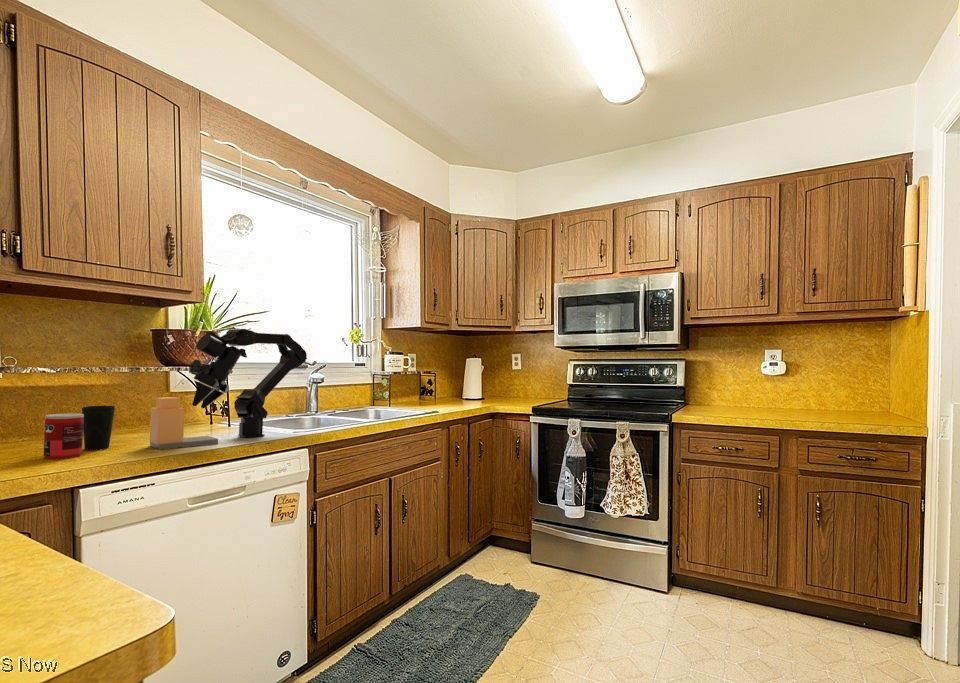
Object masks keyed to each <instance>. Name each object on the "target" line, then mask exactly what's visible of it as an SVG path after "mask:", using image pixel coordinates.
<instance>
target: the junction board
mask: <svg viewBox="0 0 960 683" xmlns="http://www.w3.org/2000/svg"><path fill="white" fill-rule="evenodd" d="M218 444H219V439H218V437H213V436H210V435H201V436H200V435H199V436H191V437H183V442H176V443H166V444H155V443H152V442H150V441H149V447H152V448H154V449H155V450H158V449H159V451H161V449H164V450H170V449H169V448H173V449H179V448H178V447H183V448H190V446H193V447H202V446H210V445H211V446H212V445H218Z"/></svg>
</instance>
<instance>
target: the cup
mask: <svg viewBox="0 0 960 683" xmlns="http://www.w3.org/2000/svg"><path fill="white" fill-rule="evenodd" d="M115 410H116V406H115V405H88V406H83V407H82V408H81V412H82V413H81V414H84V424H83V444H84V451H101V450H100V449H103V450H108V449H109V448H110V442H111V438H112V430H113V423H114V418H115ZM107 448H108V449H107Z"/></svg>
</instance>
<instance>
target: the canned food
mask: <svg viewBox="0 0 960 683" xmlns="http://www.w3.org/2000/svg"><path fill="white" fill-rule="evenodd" d="M83 424H84V414H82V413H77V412H75V413H74V412H73V413H72V412H71V413H53V414H52V413H51V414H46V415H45V419H44V434H43V453H42V454H43V458H44V459H46V460H67V459H72V458H73V459H74V458H78V457H80V456H82V453H83V444H84V432H83Z"/></svg>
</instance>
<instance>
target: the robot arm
mask: <svg viewBox="0 0 960 683" xmlns="http://www.w3.org/2000/svg"><path fill="white" fill-rule="evenodd" d="M254 344H255V345H256V344H261V345H262V344H265V345H266V344H267V345H268V344H269V345H276V346H277V348H278V353H280V358H279V362H278V363H277V364H276V365H275V366H274V367H273V369H272V370H271V371H270V372H268V374H267V375H266V376H265V377H264V378H263V379H262V380H261V381H260V382H259V383H258V384H257V385H256V386H255V387H254V388H253V389H246V388H245V389H243V390H242V391H241V393H240V394H239V395H237V396H236V397H235V399H236V400H235V401H234V402H233V404H234V411H235V412H236V415H237V418H238V419H240V422H239V424H238V425H239V426H238V434H237V436H238V437H240V438H241V437H242V438H258V437H265V436H266V435H265V434H264V433H263V430H264V427H263V426H264V424H263V423H264V419H266V418H267V416H268V413H269V412H268V411H267V410H266V409H265V407H264V406H265V401H266V397H267V396H268V395H270V393H272V392H273V390H274V389H275V388H276V387H277V385H278V384H280V382H281V381H282V380H283V379H284V378H285V377H286V376H287V375H288V374H289V373H290V371H292V370H294V369H297V368H299V367H300V366H301V365H303V364H304V363H305V362H306V361H307V359H308V354H307V351H306V350H305V349H304V348H303V346H301V344H300V343H298V342H297V341H295V340H294V339H293V338H292V336H291V335H289V334H288V333H266V332H265V333H264V332H256V331H254V330H250V329H246V328H229V329H228V330H227V331H226V332H225V334H223V335H221V336H220V335H217V334H216V333H215V332H214V331H211V330H210V331H207V332H206V334H204V335H202V337H201V338H200V339H198V340H197V342H196V349H197V350H198V351H200V352H202V353H203V354H206V355H208V356H210V357H212V358H216V359H215V361H211V362H210V363H209V364H205V363H202V361H201V360H200V359H194V360H193V361H192V362H190V363H189V365H188V368H189V371H188V374H191V375H194V376H193V380H194V381H193V382H194V384H195V387H196V389H195V393H194V397H193V400H192V403H191V405H192V406H193V407H197V406H198V405H199V404H200V403H201V406H200V409H206V408H207V407H208V406H209V405H211V404H212V403H214V402H215V401H216V400H218V399H219V398H221V397H223V396H224V395H225V394H227V393H228V391H229V390H230V386H229V384H227V382H226V380H227V378H228V377H229V375H230V374H231V375H232V374H233V372H234V367H235V366H236V365H237V362H238V361H239V359H240V358H244V359H247V357H248V355H247V352H246V349H244V348H242V347H247V346H252V345H254ZM237 347H241V348H237Z"/></svg>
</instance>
